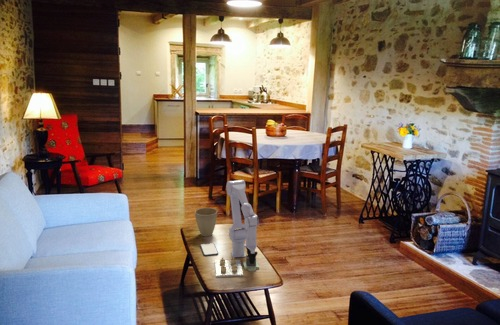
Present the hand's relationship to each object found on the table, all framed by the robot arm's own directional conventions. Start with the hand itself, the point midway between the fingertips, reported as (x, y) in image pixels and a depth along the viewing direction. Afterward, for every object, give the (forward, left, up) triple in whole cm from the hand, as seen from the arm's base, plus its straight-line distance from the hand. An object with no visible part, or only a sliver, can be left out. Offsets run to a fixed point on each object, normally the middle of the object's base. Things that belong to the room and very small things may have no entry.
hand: (251, 260), depth 229 cm
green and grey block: (0, 0, -4) cm, 4 cm away
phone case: (-24, -23, -4) cm, 33 cm away
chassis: (+2, -13, -3) cm, 13 cm away
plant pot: (-50, -24, -4) cm, 55 cm away
